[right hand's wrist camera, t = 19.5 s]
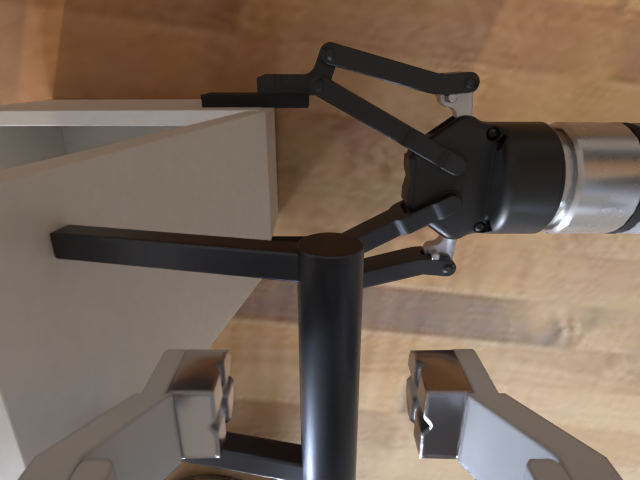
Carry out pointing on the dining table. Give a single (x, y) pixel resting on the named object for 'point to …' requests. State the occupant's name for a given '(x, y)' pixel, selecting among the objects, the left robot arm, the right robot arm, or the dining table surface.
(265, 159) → the lid
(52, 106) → the chest
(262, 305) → the dining table surface
